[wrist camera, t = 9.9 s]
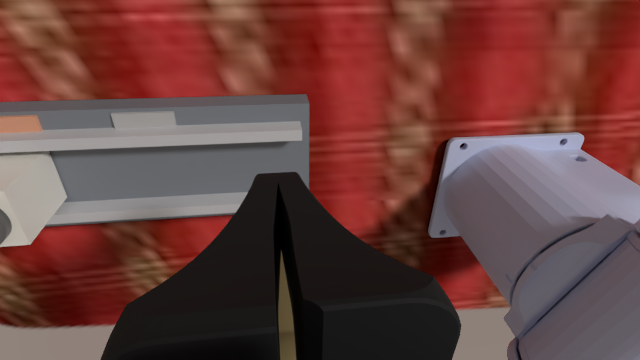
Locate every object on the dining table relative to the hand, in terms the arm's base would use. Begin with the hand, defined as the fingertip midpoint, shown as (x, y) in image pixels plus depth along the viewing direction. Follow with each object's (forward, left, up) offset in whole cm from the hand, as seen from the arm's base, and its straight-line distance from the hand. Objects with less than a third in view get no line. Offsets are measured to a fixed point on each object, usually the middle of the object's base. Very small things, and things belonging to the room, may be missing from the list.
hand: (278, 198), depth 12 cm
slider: (+13, +4, -9) cm, 16 cm away
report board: (+7, +4, -10) cm, 13 cm away
